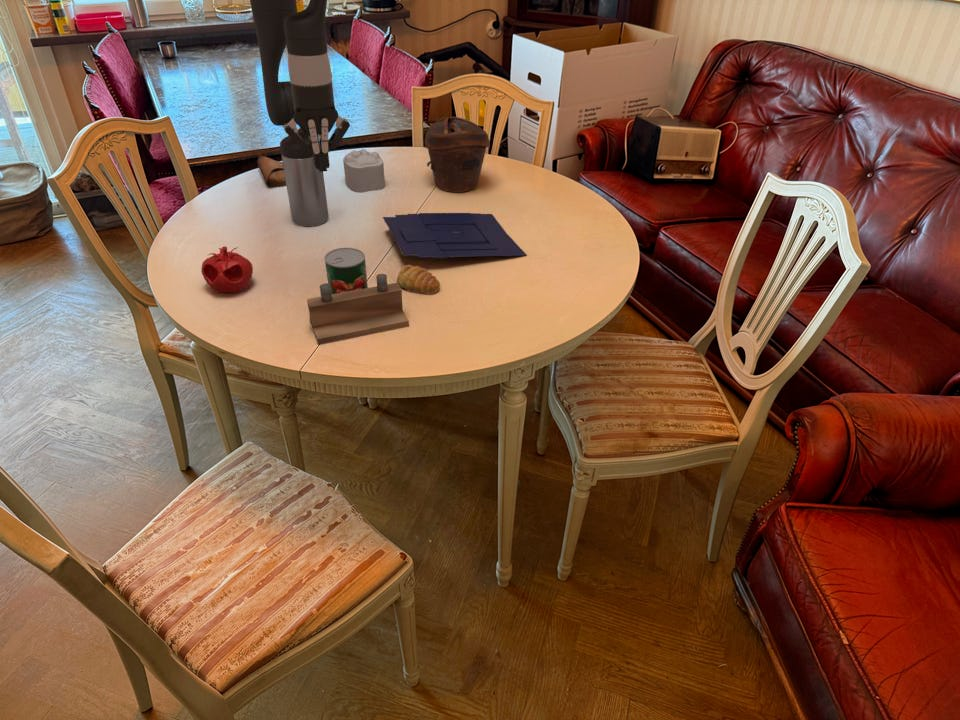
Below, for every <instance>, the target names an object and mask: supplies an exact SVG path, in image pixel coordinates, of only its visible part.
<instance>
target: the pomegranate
mask: <svg viewBox="0 0 960 720" xmlns="http://www.w3.org/2000/svg"><path fill="white" fill-rule="evenodd" d="M238 247H239V246H237V247H234V248H233V249H232V250H230V251H229V250H228V247H227V246H222V247H218V249H219V253H214V252H212V253H209V254H208V256H210V255H211V256H210V257H207V258H206V259H204V260H203V261H202V263H201V271H200V272H201V274H202V277H203V279H204V280H205V282H206V283H207V286H209V288H210V289H211V290H212V291H215V292H216V293H220V294H221V293H222V294H234V293H239V292H241V291H244V290H245V289H246V288H248V287H249V286H250V284H251V283H250V282H251V280H252V279H253V273H254V272H253V271H254V267H253V263H252V262H251V261H250V260H249V259H248V258H246V257H244V256H243V255H241V254H239V253H237V252H234V250H236V249H237V248H238Z"/></svg>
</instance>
